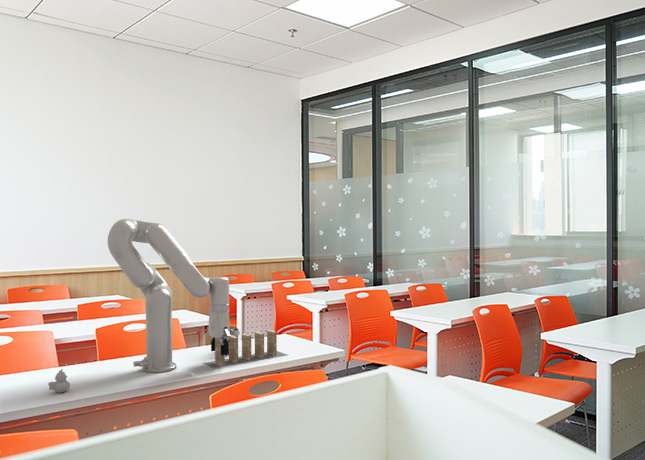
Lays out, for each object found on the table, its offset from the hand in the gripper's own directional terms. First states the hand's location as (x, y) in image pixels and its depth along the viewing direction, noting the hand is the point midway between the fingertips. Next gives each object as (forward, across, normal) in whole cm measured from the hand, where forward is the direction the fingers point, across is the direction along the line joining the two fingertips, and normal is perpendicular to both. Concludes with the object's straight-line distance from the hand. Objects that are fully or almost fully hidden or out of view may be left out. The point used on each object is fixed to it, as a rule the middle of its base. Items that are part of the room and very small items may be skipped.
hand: (219, 352), depth 216 cm
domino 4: (+4, 0, +18) cm, 19 cm away
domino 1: (+4, 0, 0) cm, 4 cm away
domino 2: (+4, 0, +6) cm, 7 cm away
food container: (+5, -14, +13) cm, 20 cm away
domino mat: (+5, 0, +12) cm, 13 cm away
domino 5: (+4, 0, +24) cm, 24 cm away
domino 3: (+4, 0, +12) cm, 13 cm away
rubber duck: (+5, -1, -58) cm, 58 cm away
